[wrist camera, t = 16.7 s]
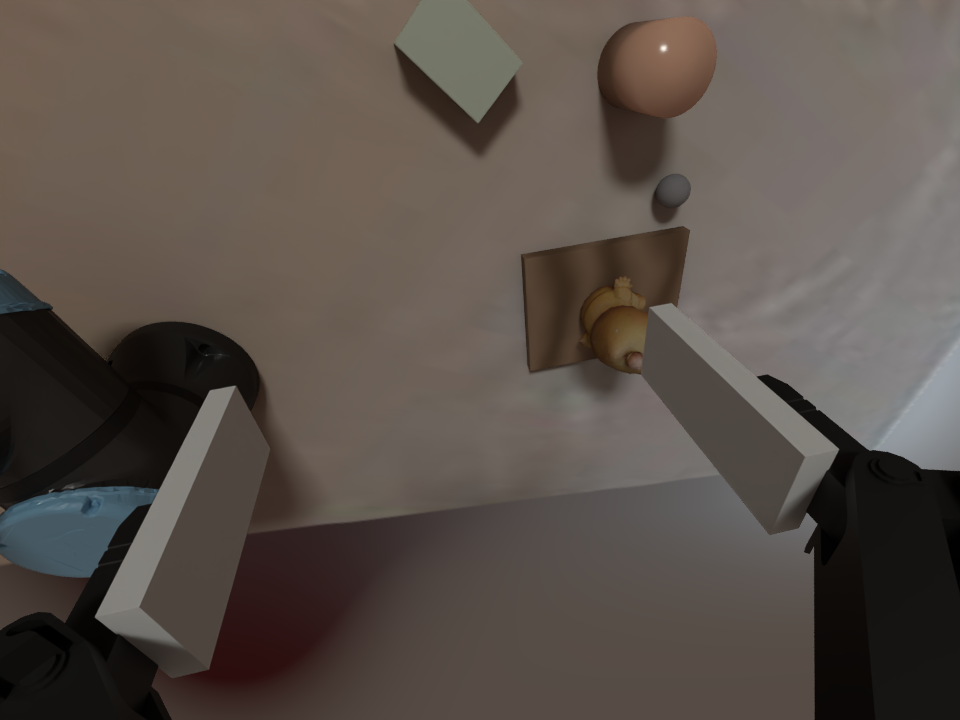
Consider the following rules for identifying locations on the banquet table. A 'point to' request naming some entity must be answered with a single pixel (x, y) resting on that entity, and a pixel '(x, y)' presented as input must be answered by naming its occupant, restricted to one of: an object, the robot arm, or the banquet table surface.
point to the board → (593, 287)
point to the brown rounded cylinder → (658, 66)
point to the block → (459, 53)
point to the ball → (673, 190)
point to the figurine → (615, 325)
